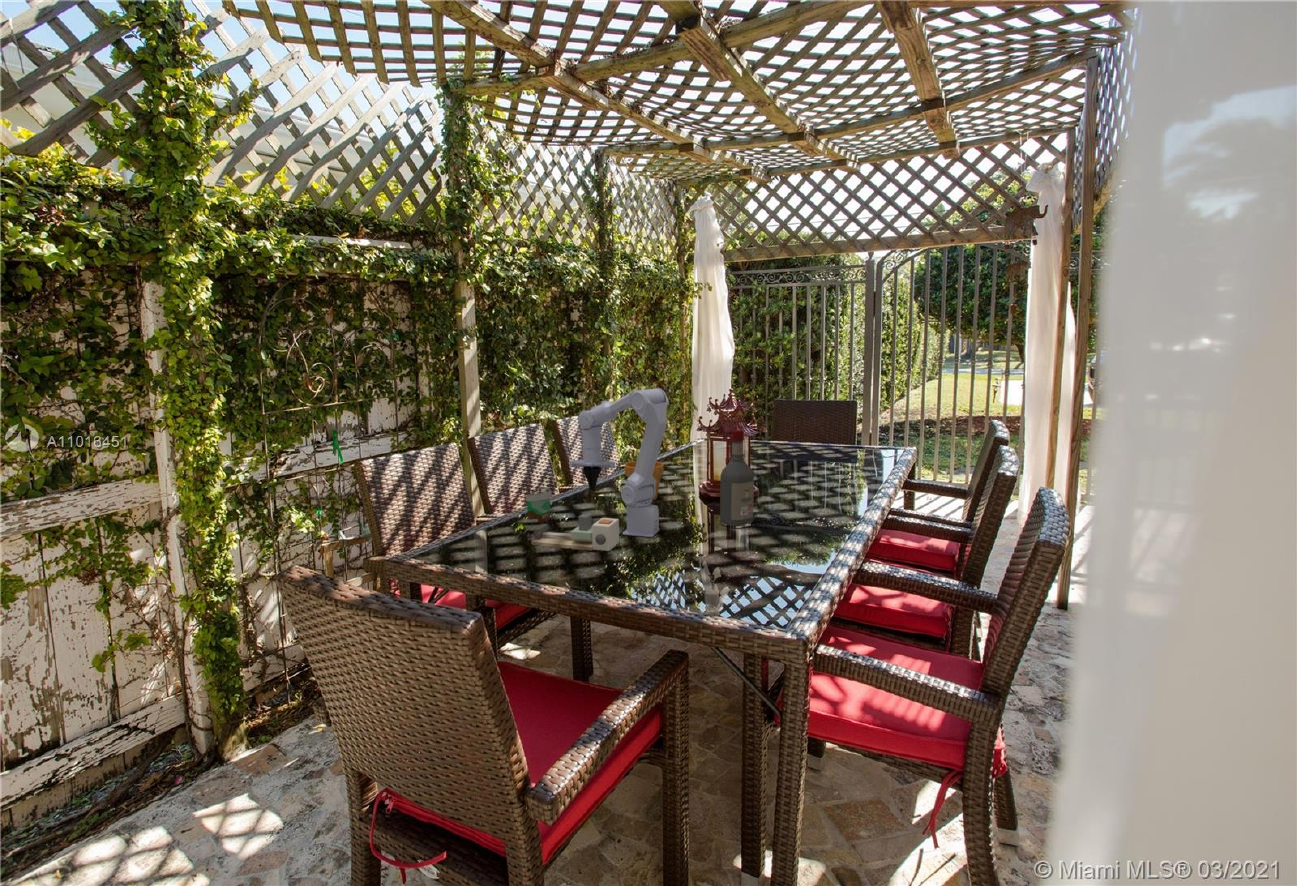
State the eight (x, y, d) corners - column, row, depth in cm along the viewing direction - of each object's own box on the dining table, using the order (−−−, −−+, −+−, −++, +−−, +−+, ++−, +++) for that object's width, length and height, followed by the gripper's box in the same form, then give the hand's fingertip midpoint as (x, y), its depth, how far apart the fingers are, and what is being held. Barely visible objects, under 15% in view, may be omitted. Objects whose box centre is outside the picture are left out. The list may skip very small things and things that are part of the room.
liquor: (757, 525, 210) (759, 430, 205) (735, 530, 205) (736, 433, 200) (737, 518, 217) (739, 427, 213) (716, 523, 212) (716, 430, 208)
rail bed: (604, 540, 196) (603, 526, 195) (591, 550, 186) (591, 536, 186) (546, 534, 201) (545, 522, 200) (531, 544, 192) (530, 531, 191)
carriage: (599, 536, 194) (599, 513, 193) (590, 543, 188) (590, 519, 186) (580, 534, 196) (579, 511, 195) (570, 541, 189) (570, 517, 188)
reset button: (612, 527, 190) (612, 519, 190) (608, 530, 187) (608, 522, 187) (602, 526, 191) (602, 519, 191) (598, 529, 188) (598, 521, 188)
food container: (545, 526, 210) (544, 495, 208) (526, 525, 211) (525, 494, 210) (558, 516, 222) (557, 486, 220) (540, 515, 223) (539, 486, 221)
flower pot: (621, 502, 239) (620, 467, 237) (629, 493, 253) (628, 459, 251) (660, 504, 237) (660, 468, 235) (666, 494, 250) (666, 460, 248)
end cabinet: (618, 542, 193) (618, 519, 192) (608, 551, 185) (608, 527, 184) (602, 541, 195) (602, 517, 194) (592, 549, 187) (591, 525, 186)
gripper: (566, 449, 209) (567, 491, 211) (610, 450, 207) (611, 493, 209) (572, 445, 216) (573, 486, 218) (616, 446, 213) (616, 488, 216)
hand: (592, 489), depth 214 cm, fingers closed
